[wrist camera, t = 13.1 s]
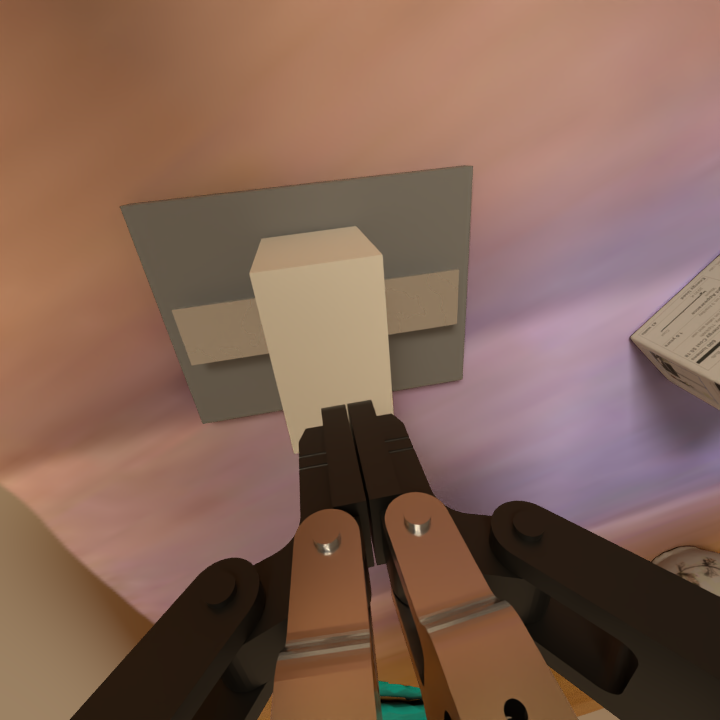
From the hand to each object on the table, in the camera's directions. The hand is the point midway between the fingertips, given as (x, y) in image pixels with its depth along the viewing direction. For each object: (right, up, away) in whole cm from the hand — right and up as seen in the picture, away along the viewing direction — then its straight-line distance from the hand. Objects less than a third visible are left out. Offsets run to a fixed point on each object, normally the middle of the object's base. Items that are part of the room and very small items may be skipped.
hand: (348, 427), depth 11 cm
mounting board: (-2, +5, +10) cm, 11 cm away
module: (-2, +5, +9) cm, 10 cm away
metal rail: (-2, +5, +10) cm, 11 cm away
